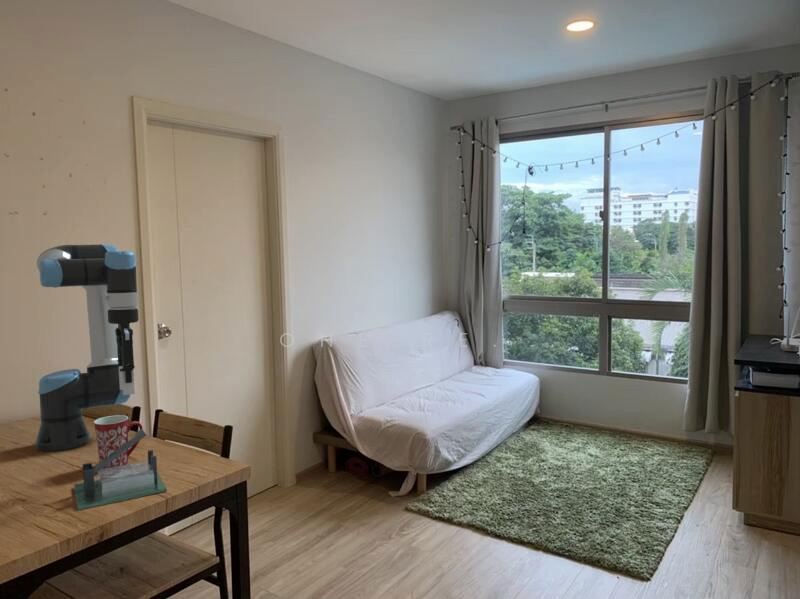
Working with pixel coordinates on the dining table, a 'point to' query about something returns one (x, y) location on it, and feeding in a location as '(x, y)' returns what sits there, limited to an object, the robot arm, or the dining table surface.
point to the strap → (120, 450)
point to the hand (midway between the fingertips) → (127, 391)
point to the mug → (113, 438)
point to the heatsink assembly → (119, 483)
